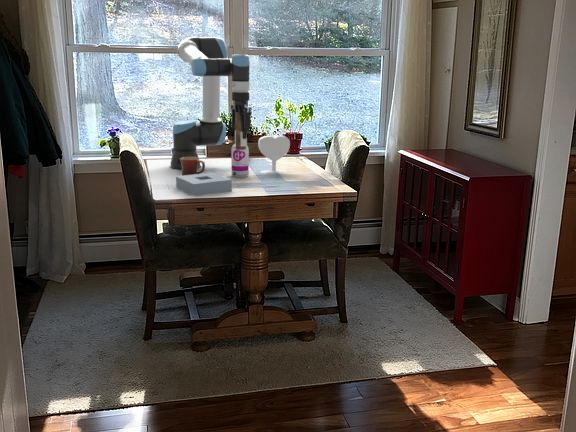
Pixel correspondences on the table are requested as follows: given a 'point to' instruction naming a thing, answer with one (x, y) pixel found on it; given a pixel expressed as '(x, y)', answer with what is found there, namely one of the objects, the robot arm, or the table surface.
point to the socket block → (203, 183)
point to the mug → (191, 165)
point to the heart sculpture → (274, 149)
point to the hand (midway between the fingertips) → (240, 145)
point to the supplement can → (240, 162)
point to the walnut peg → (238, 133)
